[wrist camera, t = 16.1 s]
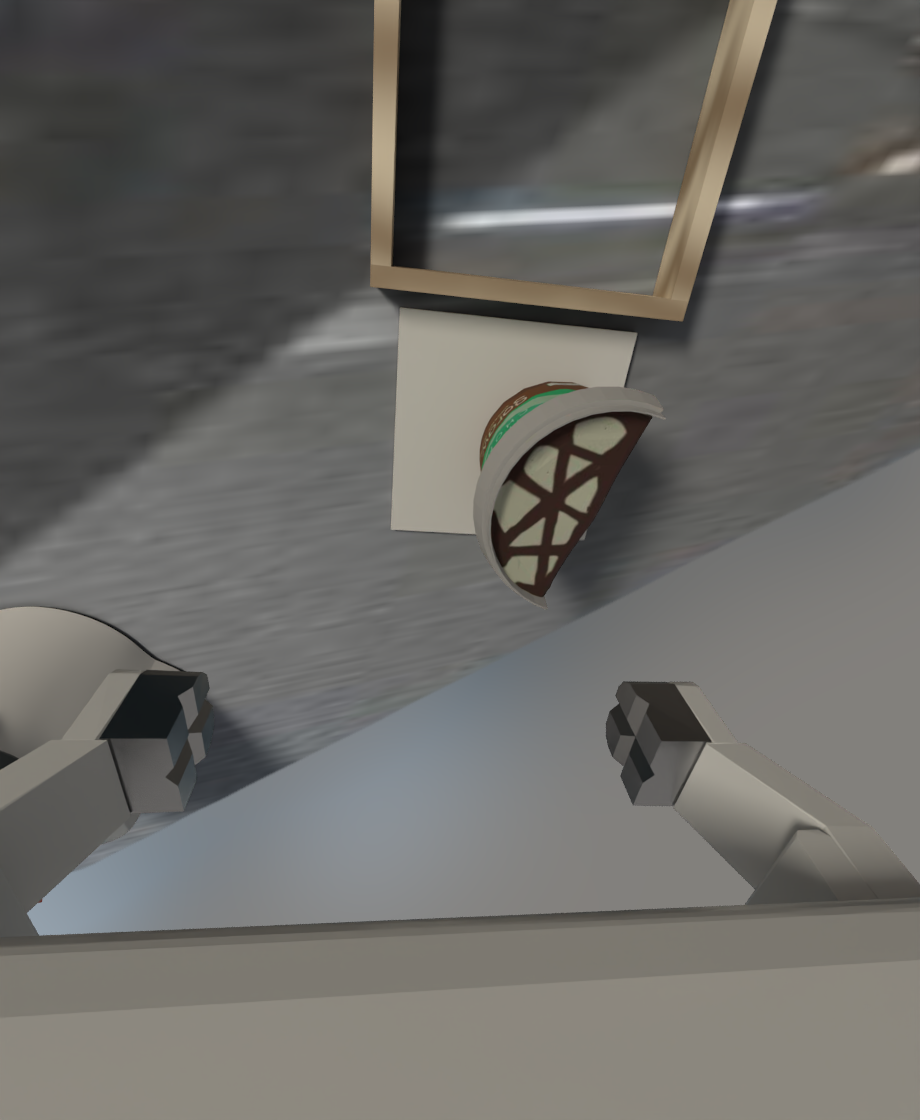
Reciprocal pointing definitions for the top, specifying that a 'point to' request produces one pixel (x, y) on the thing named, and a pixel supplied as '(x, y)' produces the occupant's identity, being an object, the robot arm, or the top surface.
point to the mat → (476, 399)
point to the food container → (551, 474)
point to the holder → (693, 208)
